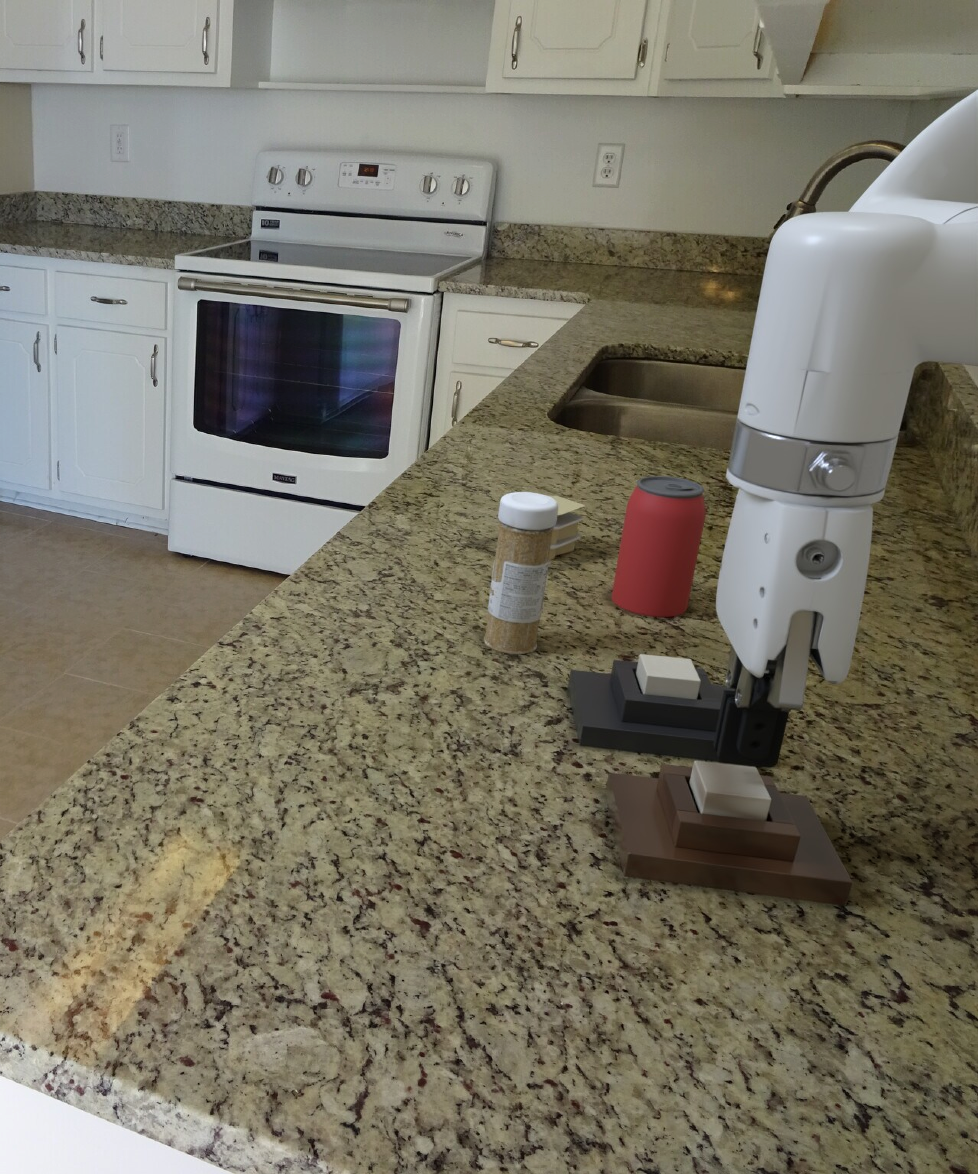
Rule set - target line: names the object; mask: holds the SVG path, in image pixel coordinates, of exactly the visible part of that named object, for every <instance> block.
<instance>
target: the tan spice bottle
mask: <svg viewBox="0 0 978 1174" xmlns="http://www.w3.org/2000/svg"><path fill="white" fill-rule="evenodd" d="M549 496H550V495H546V494H542V493H538V492H531V491H514V492H509V493H506V494H504V495H503V496H502V497H501V498H500V501H499V507H498V513H497V517H498V520H499V521H498V524H499V527H498V534H497V542H496V549H495V556H494V561H493V565H492V566H493V567H492V574H491V581H490V589H489V597H488V605H487V611H488V613H487V620H486V625H485V626H486V627H485V635H484V637H483V643H484V644H485V646H487V647H489V648H490V649H492V650H495V651H497V652H499V653H505V654H510V655H524V654H529V653H532V652H535V651H536V650H537V647H538V643H537V639H538V634H539V633H538V632H539V625H540V619H541V618H542V614H543V605H544V599H545V592H546V587H547V579H548V571H549V565H550V560H549V552H550V546H551V539H552V531H553V530H554V526H555V525H556V521H557V514H558V503H557V501H556V500H555V499H553V498H551V497H549Z"/></svg>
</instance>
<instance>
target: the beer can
mask: <svg viewBox="0 0 978 1174" xmlns="http://www.w3.org/2000/svg"><path fill="white" fill-rule="evenodd" d="M704 493H705V488H704V486H702V485H701V484H700V483H698V482H695V481H694V480H689V479H686V478H682V477H675V476H666V475H651V476H650V475H649V476H644V477H640V478H639V479H638V480H637V481H636V487H635V488H634V489H633V491H632V493H631V494H630V495H629V498H628V501H627V503H626V509H625V514H624V521H623V527H622V533H621V538H620V544H619V551H618V556H617V561H616V568H615V574H614V580H613V584H612V585H613V586H612V592H611V600H612V602H613V604H615V606H617V607H619V608H621V609H622V610H624V611H628V612H630V613H632V614H637V615H641V616H646V617H654V618H673V617H678V616H680V615H683V614H685V612H686V611H687V610H688V606H689V602H690V597H691V590H692V586H693V582H694V576H695V572H696V571H695V570H696V567H697V561H698V556H699V551H700V546H701V541H702V537H703V531H704V526H705V521H706V516H707V512H706V509H707V508H706V503H705V499H704Z"/></svg>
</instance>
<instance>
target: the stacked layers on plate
mask: <svg viewBox="0 0 978 1174" xmlns="http://www.w3.org/2000/svg"><path fill="white" fill-rule="evenodd" d="M548 496H549V497H551V498H553V499H555V500H556V501H557V503H558V514H557V521H556V525H555V526H554V530H553V531H552V539H551V546H550V552H549V561H551V560H554V559H555V558H556V557H555V556H559V555H563V554H566V553H571V552H574V551H575V548H576V547H575V546H576V542H577V541H578V540H581V537H582V536H581V535H580V534H577V533H578V528H579V522H582V521H584V518H585V517H584V516H581V515H579V514H576V513H573V511H575V510H578V509H581V508H583V507H586V505H585V504H582V503H580V502H577V501H573V500H571V499H568V498H565V497H562V496H559V495H548Z"/></svg>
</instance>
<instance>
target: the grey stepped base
mask: <svg viewBox="0 0 978 1174" xmlns="http://www.w3.org/2000/svg"><path fill="white" fill-rule="evenodd" d="M637 666H638V661H629V660H620V659H619V660H617V659H614V660H613V661H612V666H611V672H610V673H607V672H598V671H597V672H595V671H586V670H576V669H570V671H569V677H568V683H567V684H568V685H567V691H568V697H569V702H570V706H571V711H572V712H571V713H572V716H573V721H574V725H575V730H576V736H577V740H578V745H579V746H580V747H586V748H587V747H588V748H594V749H595V748H596V749H605V750H612V751H623V752H629V753H631V752H632V753H637V754H638V753H641V754H649V755H657V756H666V757H674V758H682V759H691V760H699V761H708V762H716V763H722V762H721V761H720V760H719V758H718V755H717V752H716V750H715V748H714V746H713V742H714V737H715V732H716V727H717V722H718V717H719V712H720V707H721V702H722V697H723V692H724V690H729V691H735V689H729V688H727V686H726V684H725V685H723V684H713V683H712V682H711V680H710V678H709V675H708V673H707V672H706V669H705V668H699V667H695V669H696V672H697V674H698V676H699V678H700V680H701V682H700V687H699V692H698V697H697V699H687V698H677V697H668V696H658V695H649V694H642V691H641V688H640V685H639V682H638V679H637V676H636V671H637Z"/></svg>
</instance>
